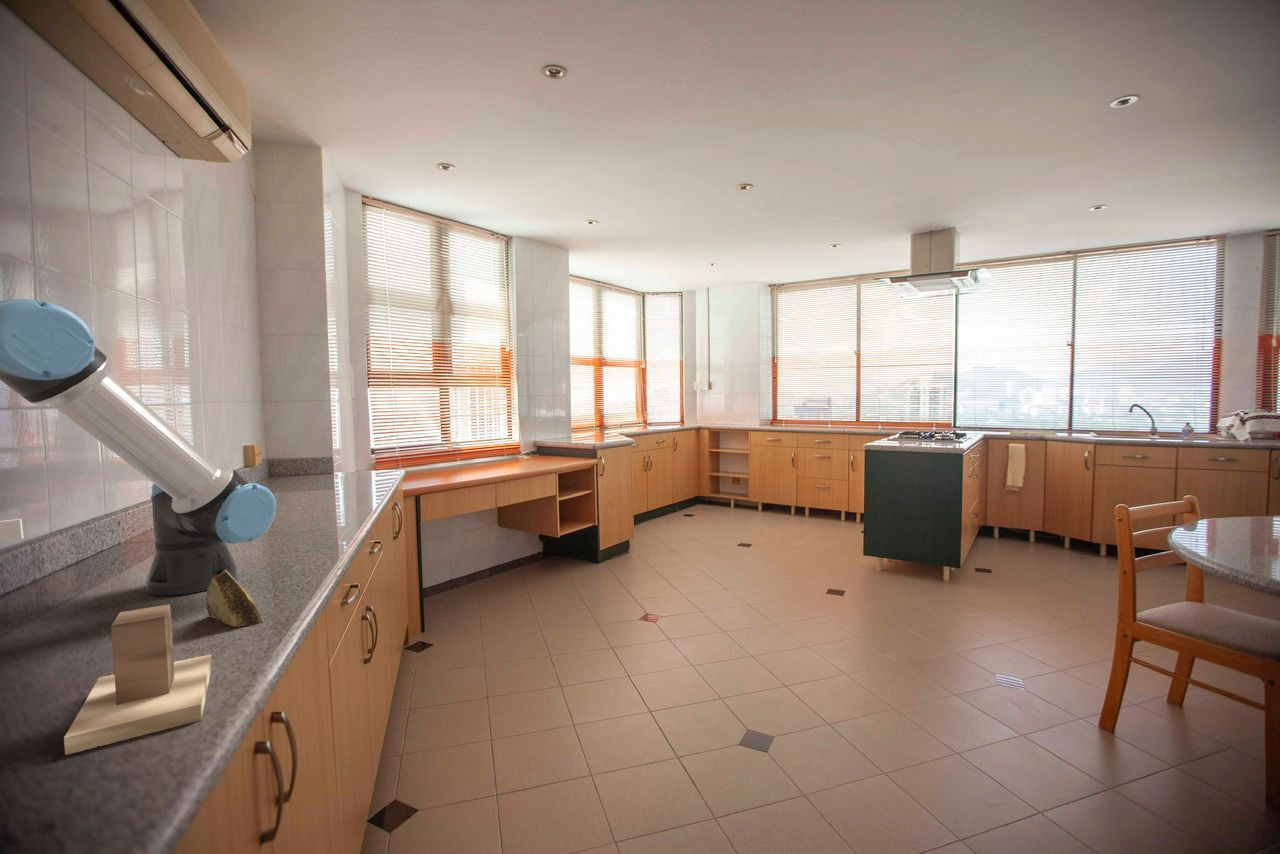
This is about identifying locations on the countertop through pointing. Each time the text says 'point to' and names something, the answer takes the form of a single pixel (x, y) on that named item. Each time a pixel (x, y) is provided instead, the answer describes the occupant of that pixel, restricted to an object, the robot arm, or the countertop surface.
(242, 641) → the countertop surface
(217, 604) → the rock
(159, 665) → the walnut block
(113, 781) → the countertop surface
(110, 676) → the cutting board
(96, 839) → the countertop surface
